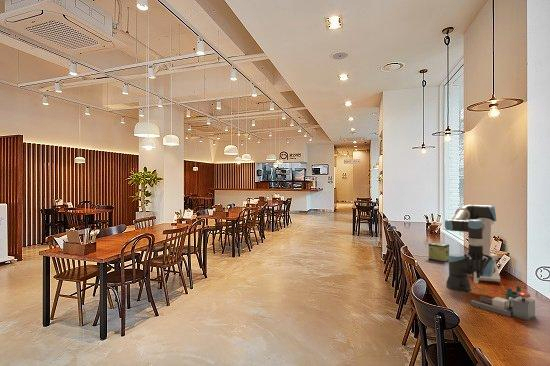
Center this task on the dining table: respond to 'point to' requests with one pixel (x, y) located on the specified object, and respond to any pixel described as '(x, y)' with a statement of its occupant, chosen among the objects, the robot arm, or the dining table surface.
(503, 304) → the cube with cylindrical stub
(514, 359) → the dining table surface
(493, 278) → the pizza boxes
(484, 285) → the dining table surface
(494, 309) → the guide rails
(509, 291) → the green irregular piece
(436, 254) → the protein box
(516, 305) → the button station
